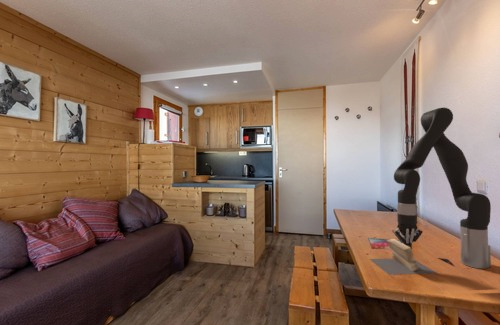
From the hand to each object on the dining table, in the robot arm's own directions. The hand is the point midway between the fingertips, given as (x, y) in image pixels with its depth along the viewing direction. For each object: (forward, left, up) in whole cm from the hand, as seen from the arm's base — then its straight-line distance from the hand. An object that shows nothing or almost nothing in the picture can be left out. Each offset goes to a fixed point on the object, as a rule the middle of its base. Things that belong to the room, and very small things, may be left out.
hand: (407, 250), depth 107 cm
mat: (+3, 0, -8) cm, 8 cm away
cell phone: (-16, -6, -8) cm, 19 cm away
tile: (+1, 0, -6) cm, 6 cm away
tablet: (-8, -27, -8) cm, 29 cm away
